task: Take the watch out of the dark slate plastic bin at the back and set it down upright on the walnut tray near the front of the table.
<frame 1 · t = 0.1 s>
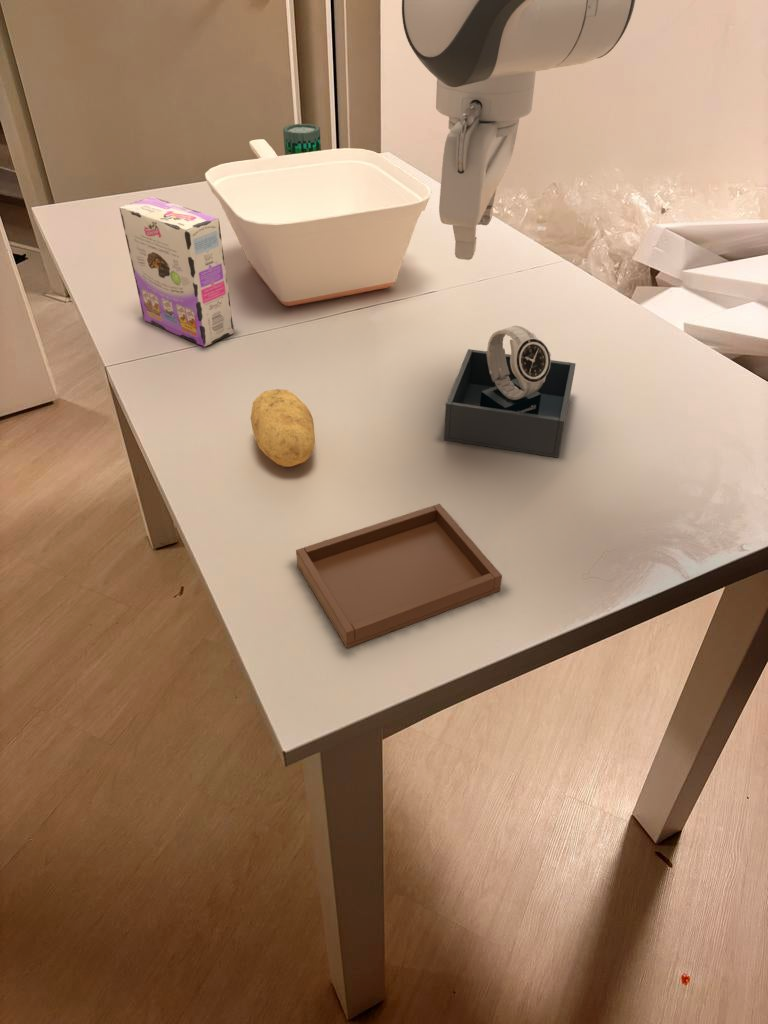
hand: (474, 239, 82), 22 cm above the table, tool pointing down, fingers open, 8 cm apart
tray: (396, 577, 76), on the table
bin: (509, 418, 97), on the table
potato: (286, 453, 91), on the table
pot: (304, 261, 133), on the table
watch: (509, 416, 96), resting on bin
candy box: (188, 328, 115), on the table
can: (306, 216, 149), on the table
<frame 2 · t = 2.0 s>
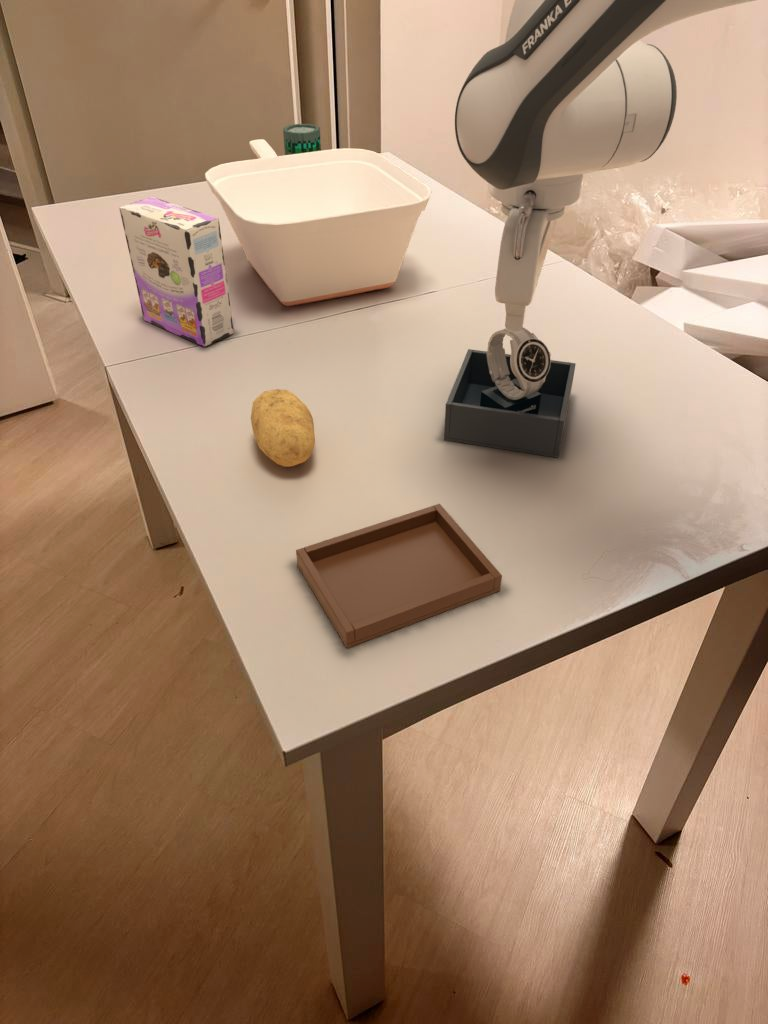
hand: (520, 307, 87), 14 cm above the table, tool pointing down, fingers open, 8 cm apart
nothing on the table moved.
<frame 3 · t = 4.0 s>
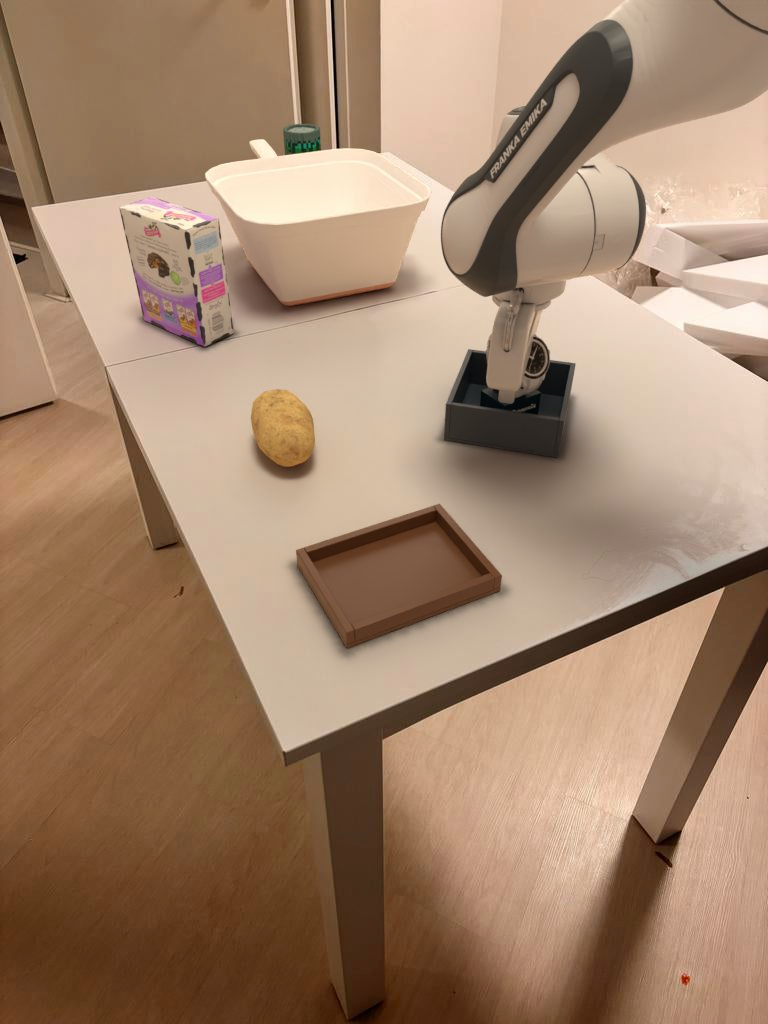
hand: (511, 384, 93), 5 cm above the table, tool pointing down, fingers closed on watch, 5 cm apart
watch: (509, 416, 96), resting on bin, touching gripper
everything else where it was.
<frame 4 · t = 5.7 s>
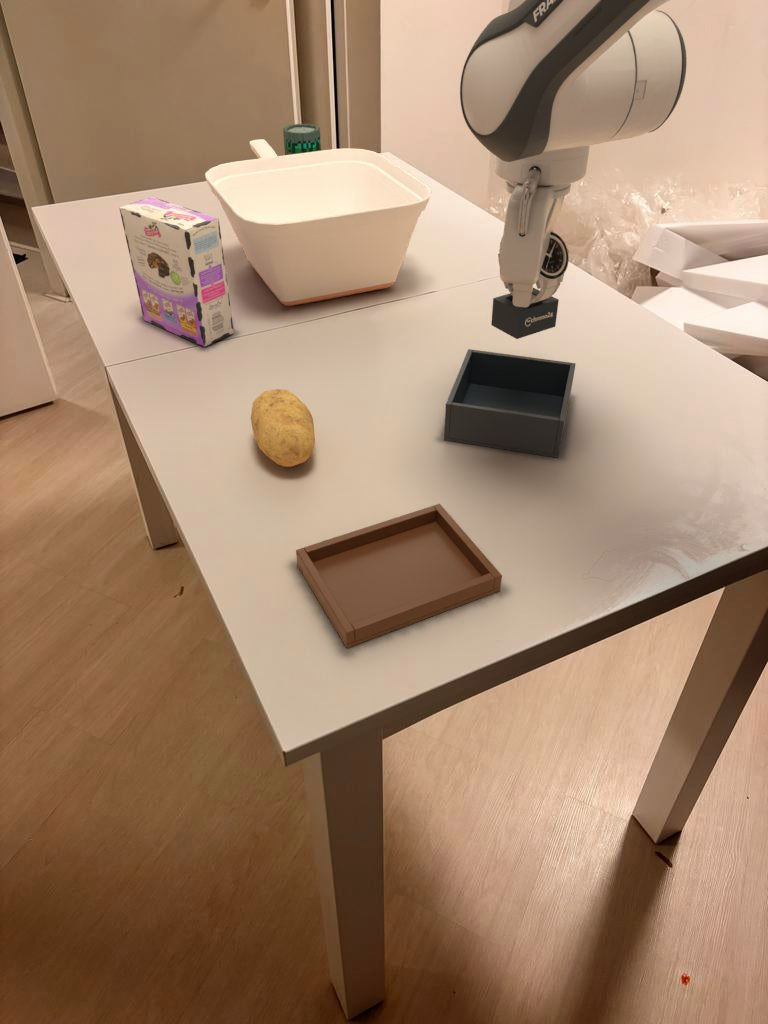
hand: (526, 290, 86), 16 cm above the table, tool pointing down, fingers closed on watch, 5 cm apart
watch: (524, 327, 89), point 12 cm above the table, touching gripper
everything else where it was.
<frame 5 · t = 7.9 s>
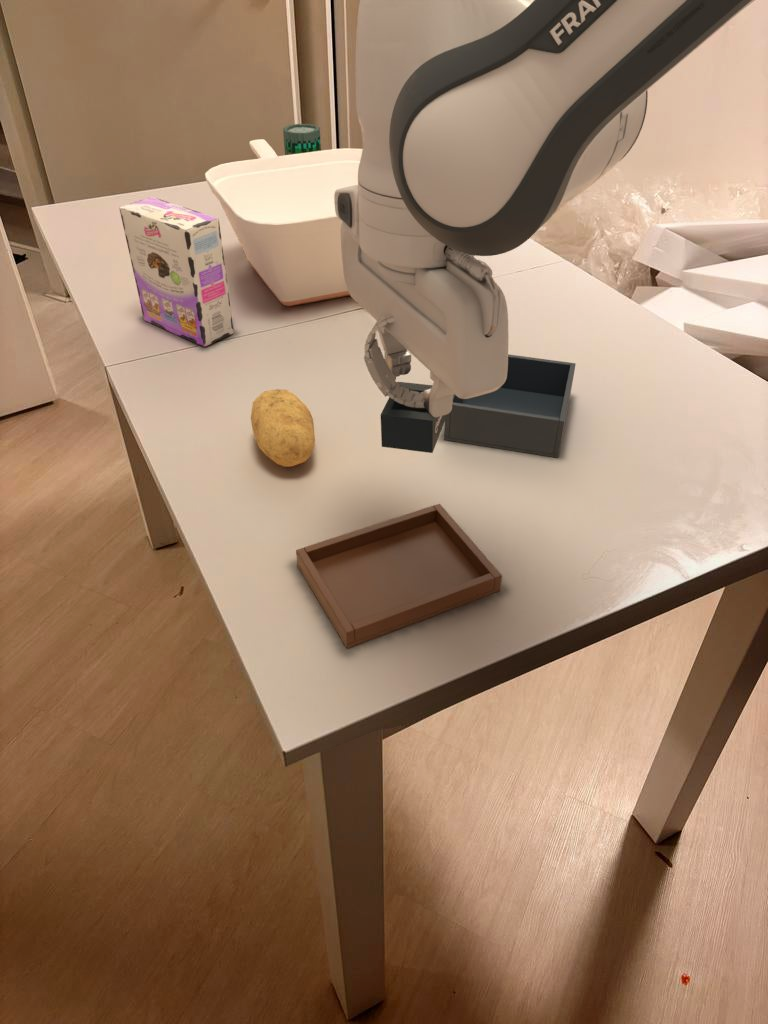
hand: (416, 390, 66), 19 cm above the table, tool pointing down, fingers closed on watch, 5 cm apart
watch: (415, 433, 69), point 14 cm above the table, touching gripper
everything else where it was.
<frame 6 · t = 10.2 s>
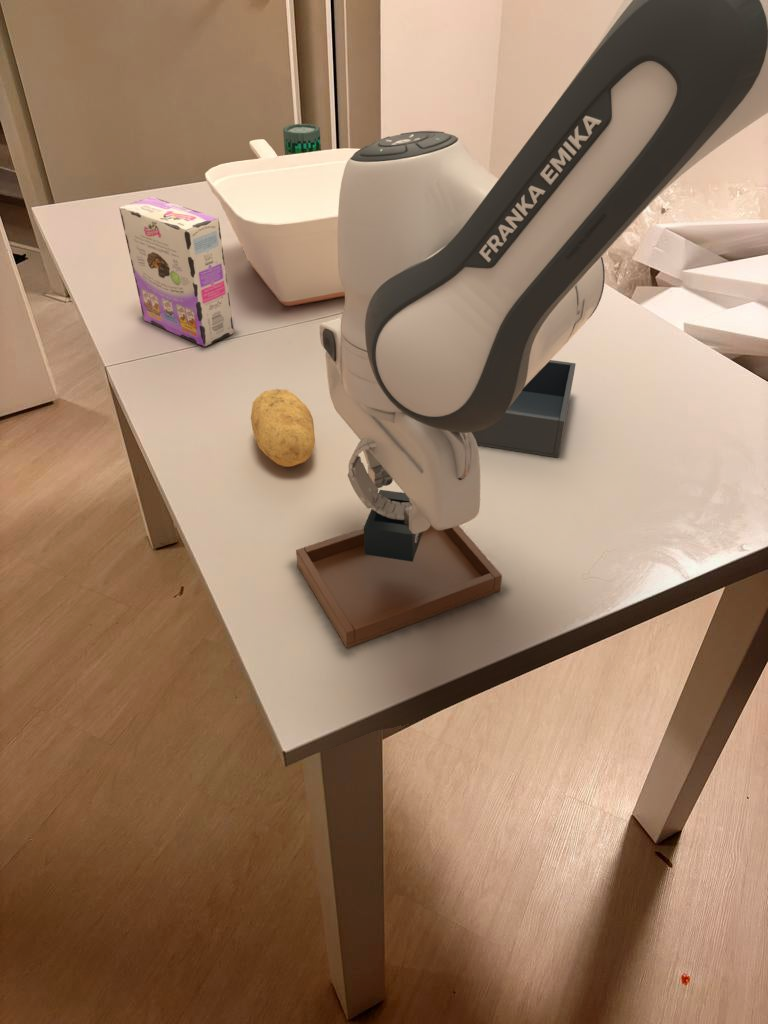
hand: (397, 503, 70), 9 cm above the table, tool pointing down, fingers closed on watch, 5 cm apart
watch: (397, 539, 73), point 5 cm above the table, touching gripper
everything else where it was.
when the fingers open (5 cm above the table, at t = 11.8 s): watch stays where it is, resting on tray.
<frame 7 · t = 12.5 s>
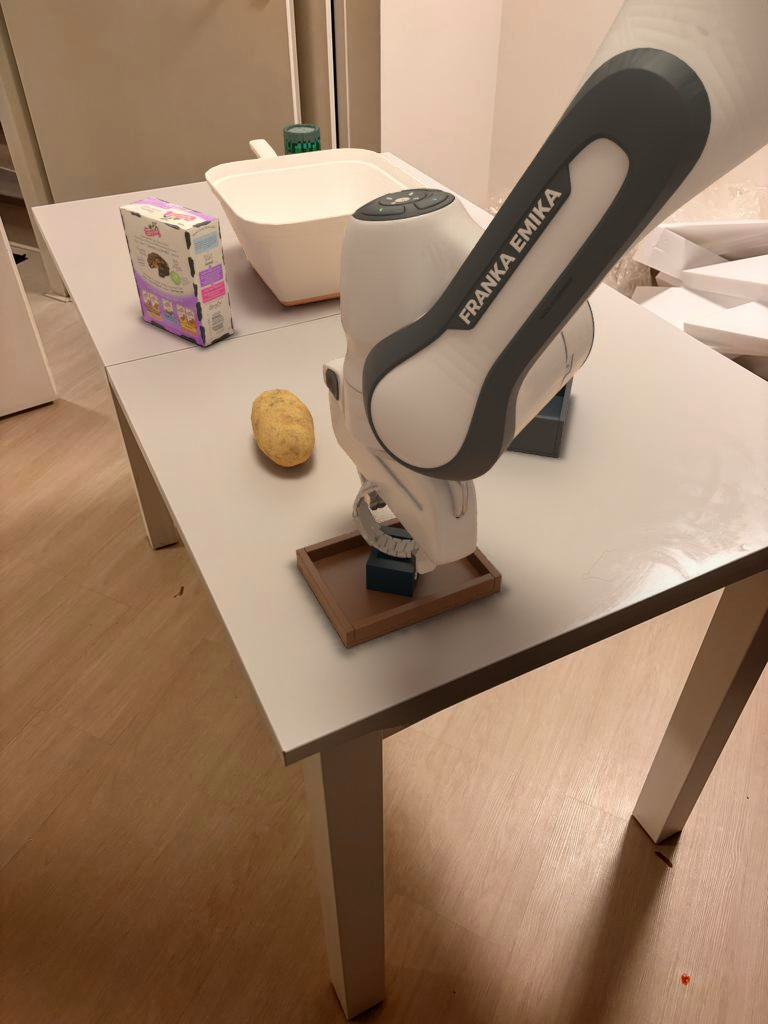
hand: (398, 534, 72), 5 cm above the table, tool pointing down, fingers open, 8 cm apart
watch: (397, 574, 76), resting on tray
everything else where it was.
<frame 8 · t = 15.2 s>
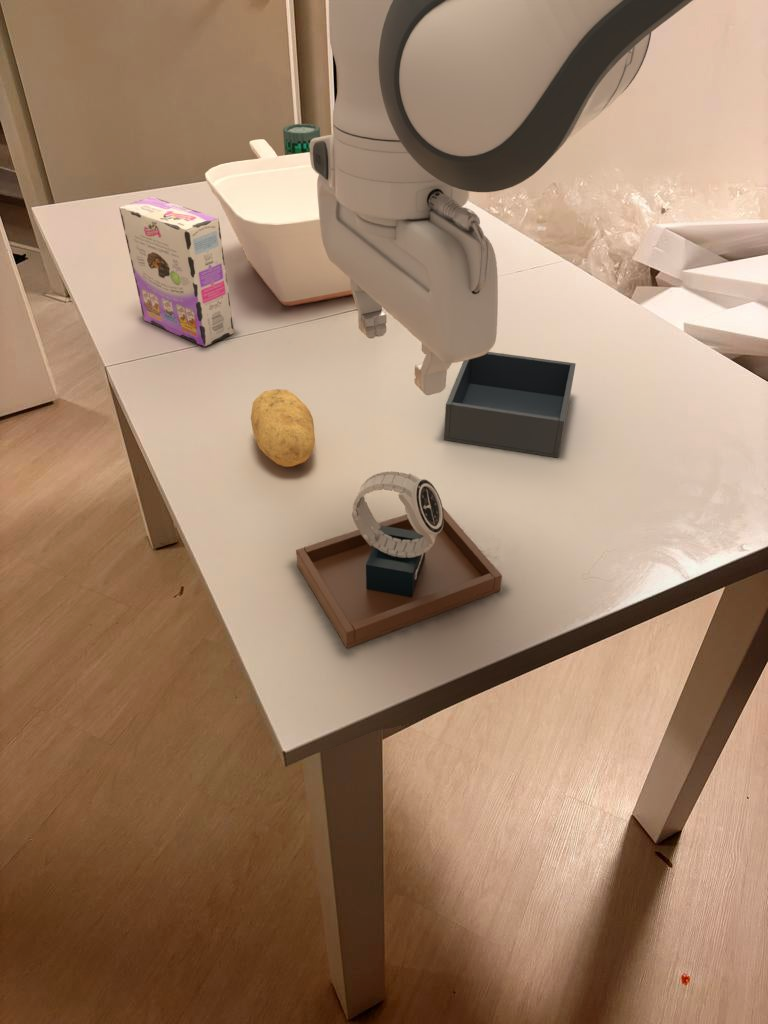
hand: (399, 360, 61), 23 cm above the table, tool pointing down, fingers open, 8 cm apart
nothing on the table moved.
at the end: watch inside the target area in the tray (0.2 cm from its centre), point 0.3 cm above the tray's base; watch touching tray; watch tilted 0° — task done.
